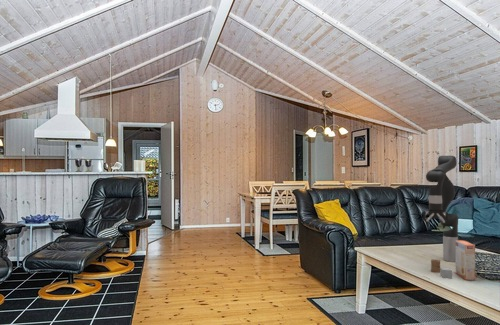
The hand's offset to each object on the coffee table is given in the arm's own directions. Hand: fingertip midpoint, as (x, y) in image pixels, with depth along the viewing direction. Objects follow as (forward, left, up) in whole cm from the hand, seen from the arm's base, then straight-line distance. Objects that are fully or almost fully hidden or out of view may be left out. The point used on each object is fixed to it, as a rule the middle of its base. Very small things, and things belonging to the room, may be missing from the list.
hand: (435, 227), depth 227 cm
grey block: (+10, +6, -28) cm, 30 cm away
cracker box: (+4, +16, -28) cm, 32 cm away
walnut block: (0, 0, -28) cm, 28 cm away
